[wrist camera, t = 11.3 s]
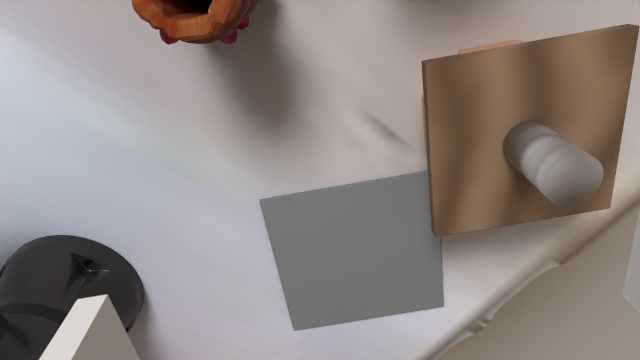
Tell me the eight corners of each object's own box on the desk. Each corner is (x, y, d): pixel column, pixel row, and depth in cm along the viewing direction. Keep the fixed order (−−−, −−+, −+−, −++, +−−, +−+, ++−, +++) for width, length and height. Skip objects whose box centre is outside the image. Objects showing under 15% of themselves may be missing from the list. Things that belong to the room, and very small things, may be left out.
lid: (431, 230, 41) (460, 288, 34) (421, 60, 34) (455, 89, 27) (601, 201, 41) (668, 254, 34) (628, 23, 34) (721, 42, 26)
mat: (293, 327, 56) (293, 330, 55) (260, 199, 47) (259, 201, 46) (442, 303, 55) (443, 306, 54) (436, 169, 46) (437, 171, 46)
